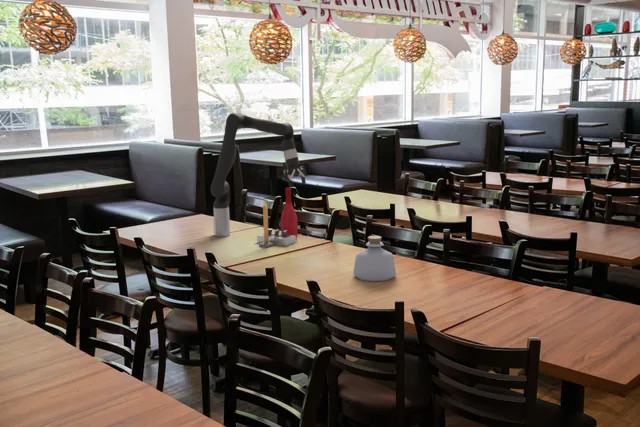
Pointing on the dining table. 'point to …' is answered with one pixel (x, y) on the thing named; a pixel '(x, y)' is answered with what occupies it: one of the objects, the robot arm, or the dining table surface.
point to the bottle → (374, 262)
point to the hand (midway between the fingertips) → (297, 185)
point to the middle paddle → (276, 232)
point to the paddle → (270, 231)
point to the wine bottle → (289, 216)
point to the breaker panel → (278, 239)
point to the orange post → (265, 229)
